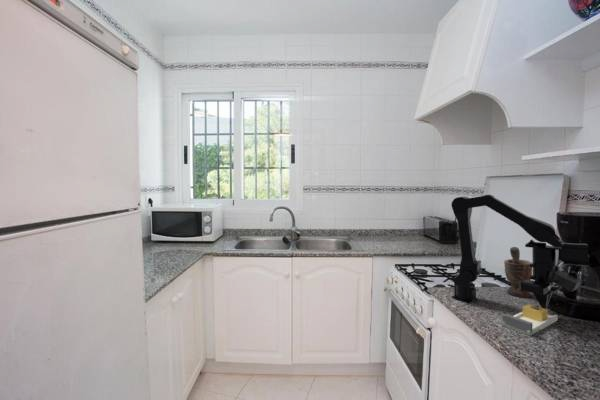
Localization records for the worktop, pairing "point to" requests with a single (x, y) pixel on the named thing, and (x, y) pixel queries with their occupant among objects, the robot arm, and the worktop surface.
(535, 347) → the worktop surface
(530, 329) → the rail
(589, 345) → the worktop surface
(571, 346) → the worktop surface
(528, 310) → the carriage
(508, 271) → the mortar and pestle
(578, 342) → the worktop surface
